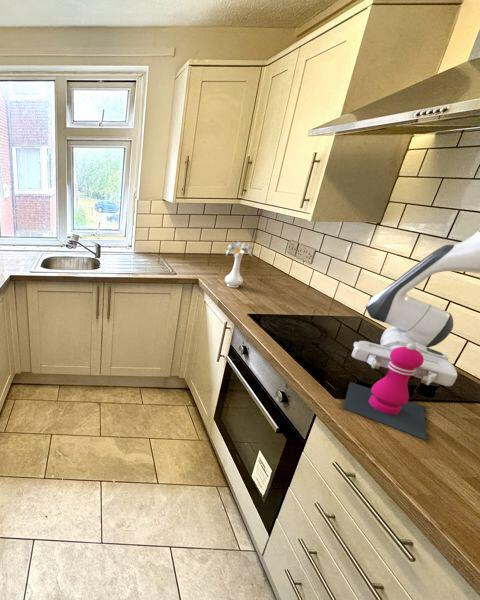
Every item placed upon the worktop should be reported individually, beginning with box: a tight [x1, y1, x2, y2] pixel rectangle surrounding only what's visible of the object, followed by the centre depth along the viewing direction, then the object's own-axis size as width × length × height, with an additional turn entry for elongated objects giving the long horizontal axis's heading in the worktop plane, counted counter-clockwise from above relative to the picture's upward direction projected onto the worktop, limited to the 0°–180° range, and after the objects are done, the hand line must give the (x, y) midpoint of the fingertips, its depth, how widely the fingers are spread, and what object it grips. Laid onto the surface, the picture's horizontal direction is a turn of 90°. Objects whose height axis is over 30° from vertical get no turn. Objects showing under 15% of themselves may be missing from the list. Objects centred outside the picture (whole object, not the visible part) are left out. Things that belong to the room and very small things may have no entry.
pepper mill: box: [369, 343, 424, 415], centre depth 83 cm, size 7×7×20 cm
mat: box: [342, 381, 428, 441], centre depth 86 cm, size 16×16×1 cm
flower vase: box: [224, 240, 253, 289], centre depth 173 cm, size 13×18×25 cm
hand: (399, 373), depth 82 cm, fingers open, 8 cm apart
